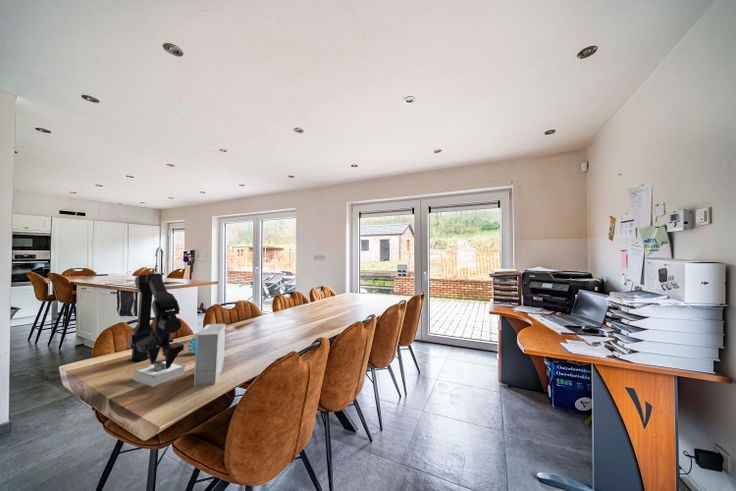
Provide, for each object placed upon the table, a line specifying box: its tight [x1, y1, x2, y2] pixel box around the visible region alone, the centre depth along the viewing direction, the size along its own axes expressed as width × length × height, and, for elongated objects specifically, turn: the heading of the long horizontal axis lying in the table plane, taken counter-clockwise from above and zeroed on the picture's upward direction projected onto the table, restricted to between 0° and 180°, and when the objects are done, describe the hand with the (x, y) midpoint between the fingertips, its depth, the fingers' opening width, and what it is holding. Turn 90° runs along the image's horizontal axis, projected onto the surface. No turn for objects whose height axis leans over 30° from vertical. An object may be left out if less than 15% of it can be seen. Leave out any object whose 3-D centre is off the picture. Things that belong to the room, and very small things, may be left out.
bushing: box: [153, 359, 166, 372], centre depth 109 cm, size 5×5×6 cm
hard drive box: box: [193, 323, 226, 387], centre depth 111 cm, size 16×8×20 cm, turn 18°
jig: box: [132, 361, 186, 387], centre depth 109 cm, size 12×12×4 cm
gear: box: [187, 336, 197, 355], centre depth 137 cm, size 11×6×10 cm
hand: (160, 366), depth 109 cm, fingers open, 9 cm apart
